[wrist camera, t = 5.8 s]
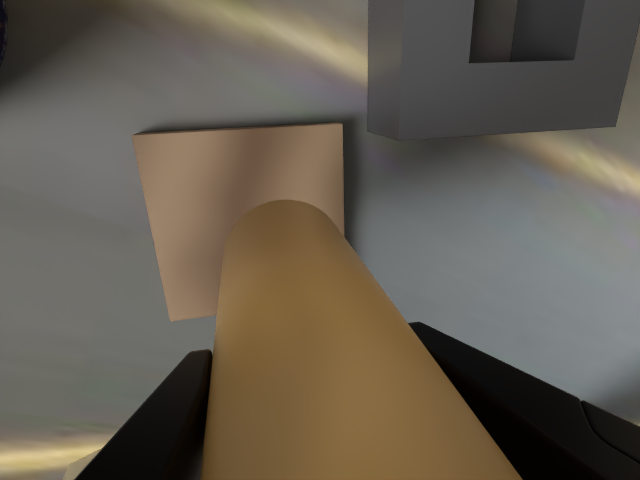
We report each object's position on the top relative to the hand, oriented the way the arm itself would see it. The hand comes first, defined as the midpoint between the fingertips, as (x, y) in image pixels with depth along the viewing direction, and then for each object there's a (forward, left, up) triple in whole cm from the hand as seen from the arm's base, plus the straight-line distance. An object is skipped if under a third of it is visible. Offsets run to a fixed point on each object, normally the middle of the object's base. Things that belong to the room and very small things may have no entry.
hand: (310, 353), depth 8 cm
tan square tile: (+1, +1, -12) cm, 12 cm away
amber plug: (0, 0, -5) cm, 5 cm away
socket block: (-10, -8, -12) cm, 18 cm away
